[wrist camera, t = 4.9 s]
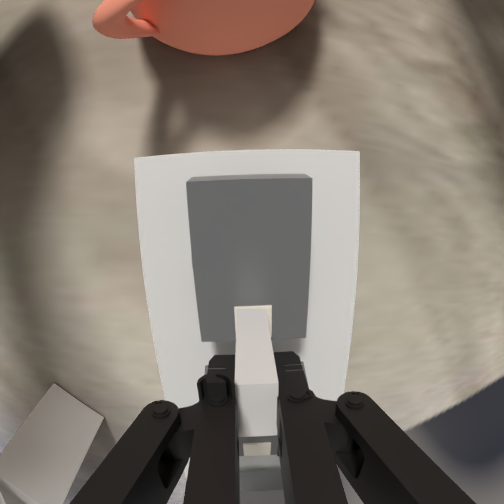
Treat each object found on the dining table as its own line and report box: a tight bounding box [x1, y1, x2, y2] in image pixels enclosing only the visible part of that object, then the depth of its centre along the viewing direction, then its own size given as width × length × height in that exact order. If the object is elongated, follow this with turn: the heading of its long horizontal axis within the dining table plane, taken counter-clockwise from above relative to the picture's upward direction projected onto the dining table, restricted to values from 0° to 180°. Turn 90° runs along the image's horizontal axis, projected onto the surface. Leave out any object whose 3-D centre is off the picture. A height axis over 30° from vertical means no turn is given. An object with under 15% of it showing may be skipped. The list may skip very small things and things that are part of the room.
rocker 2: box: [240, 469, 285, 504], centre depth 23 cm, size 9×6×3 cm
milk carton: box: [0, 383, 104, 504], centre depth 21 cm, size 7×7×19 cm
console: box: [134, 149, 360, 479], centre depth 25 cm, size 34×15×7 cm, turn 2°
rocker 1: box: [186, 174, 312, 342], centre depth 18 cm, size 9×6×3 cm
